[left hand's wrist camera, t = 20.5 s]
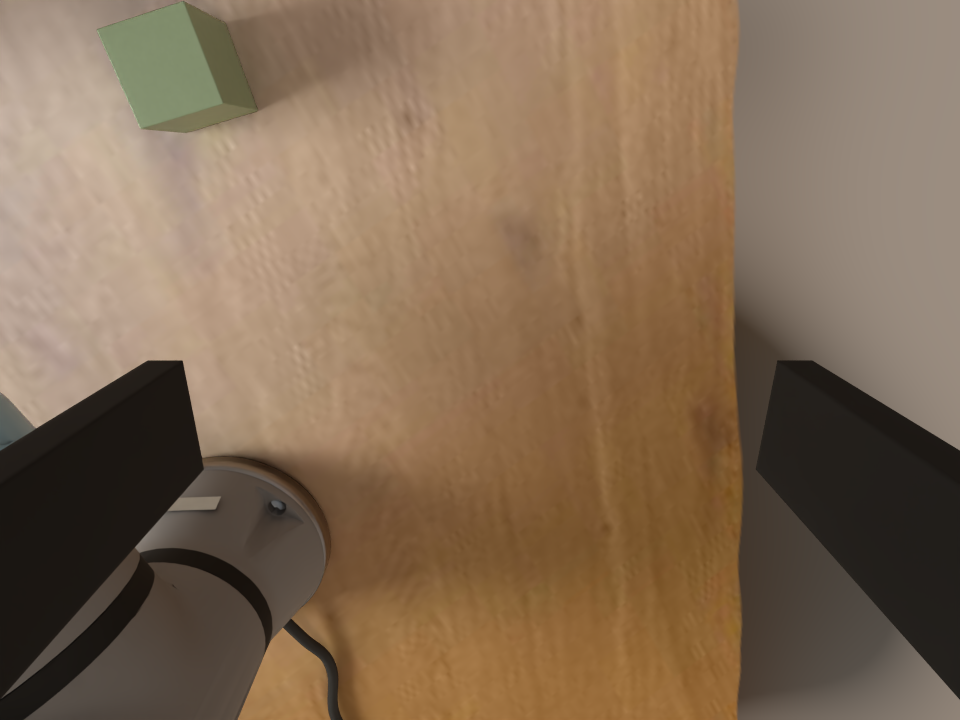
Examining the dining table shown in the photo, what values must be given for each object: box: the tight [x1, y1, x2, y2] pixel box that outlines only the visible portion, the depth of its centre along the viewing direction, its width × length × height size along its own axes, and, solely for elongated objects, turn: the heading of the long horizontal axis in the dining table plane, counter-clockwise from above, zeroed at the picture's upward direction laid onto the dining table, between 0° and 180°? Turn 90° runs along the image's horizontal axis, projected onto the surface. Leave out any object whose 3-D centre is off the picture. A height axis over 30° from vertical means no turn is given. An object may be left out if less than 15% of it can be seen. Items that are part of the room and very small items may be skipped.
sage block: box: [97, 1, 258, 133], centre depth 32 cm, size 5×5×5 cm
